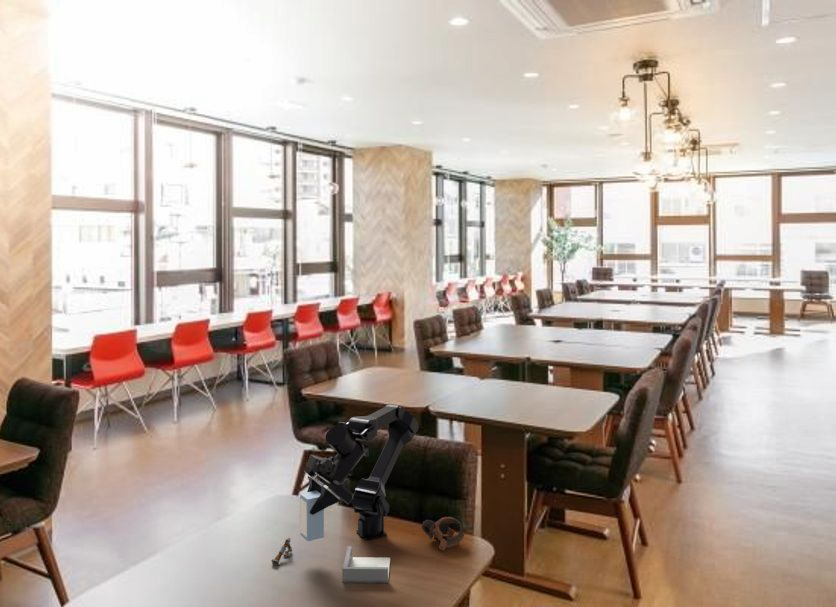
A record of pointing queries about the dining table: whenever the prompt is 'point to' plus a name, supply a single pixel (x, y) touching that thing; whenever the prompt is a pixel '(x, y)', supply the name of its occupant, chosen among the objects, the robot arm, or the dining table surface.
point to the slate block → (310, 517)
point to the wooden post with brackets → (281, 552)
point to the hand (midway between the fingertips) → (306, 510)
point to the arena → (365, 569)
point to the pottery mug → (443, 531)
